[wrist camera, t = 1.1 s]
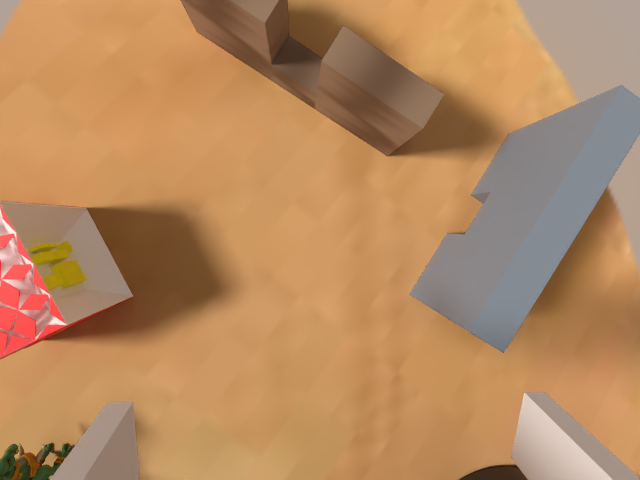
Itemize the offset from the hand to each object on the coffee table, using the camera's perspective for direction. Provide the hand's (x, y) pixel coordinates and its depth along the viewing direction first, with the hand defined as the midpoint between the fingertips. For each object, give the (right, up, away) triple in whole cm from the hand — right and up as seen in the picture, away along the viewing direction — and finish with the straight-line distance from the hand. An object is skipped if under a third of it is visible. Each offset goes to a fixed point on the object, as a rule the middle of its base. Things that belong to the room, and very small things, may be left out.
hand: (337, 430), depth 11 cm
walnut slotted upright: (-2, +19, +16) cm, 25 cm away
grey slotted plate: (+12, +8, +17) cm, 23 cm away
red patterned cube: (-21, +4, +16) cm, 26 cm away
